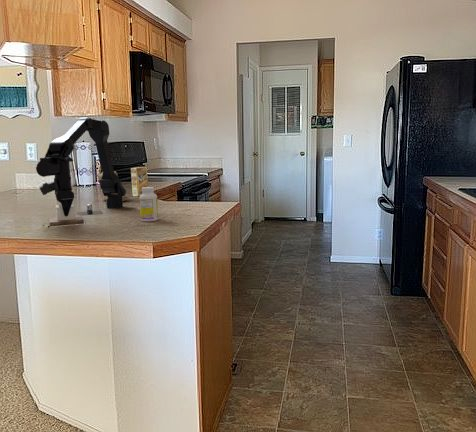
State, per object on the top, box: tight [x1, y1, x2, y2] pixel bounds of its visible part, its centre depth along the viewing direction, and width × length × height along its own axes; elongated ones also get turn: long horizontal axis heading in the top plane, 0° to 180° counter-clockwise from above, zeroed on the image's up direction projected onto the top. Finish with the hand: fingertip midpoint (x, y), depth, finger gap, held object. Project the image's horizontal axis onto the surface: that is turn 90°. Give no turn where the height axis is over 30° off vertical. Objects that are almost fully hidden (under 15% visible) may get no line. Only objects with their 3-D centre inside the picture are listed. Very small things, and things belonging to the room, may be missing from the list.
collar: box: [55, 203, 76, 221], centre depth 184 cm, size 6×6×5 cm
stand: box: [76, 203, 104, 217], centre depth 200 cm, size 10×10×4 cm
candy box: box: [130, 166, 149, 197], centre depth 262 cm, size 9×4×15 cm, turn 150°
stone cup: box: [97, 171, 129, 202], centre depth 241 cm, size 15×12×15 cm
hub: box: [48, 214, 85, 227], centre depth 184 cm, size 12×12×5 cm
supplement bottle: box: [139, 186, 159, 223], centre depth 185 cm, size 7×7×13 cm
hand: (65, 214), depth 184 cm, fingers closed on collar, 6 cm apart
